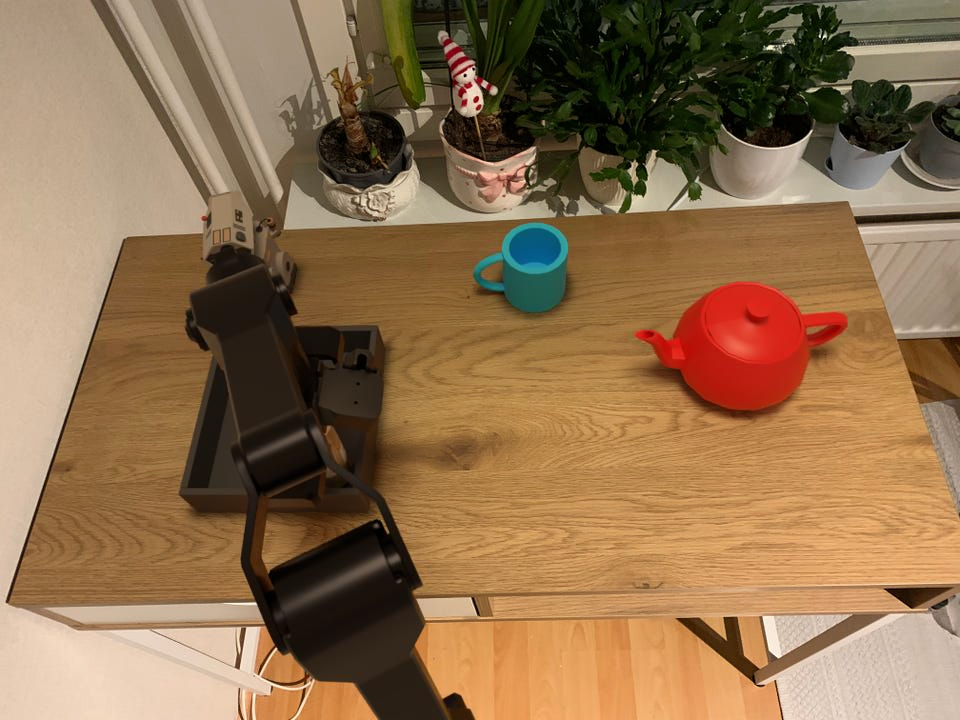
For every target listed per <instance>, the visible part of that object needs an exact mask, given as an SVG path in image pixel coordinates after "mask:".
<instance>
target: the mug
mask: <svg viewBox="0 0 960 720" xmlns="http://www.w3.org/2000/svg"><path fill="white" fill-rule="evenodd" d="M568 257H569V243H568V241H567V238H566V236H565V235H564V234H563V233H562V232H561V231H560V229H558V228H556V227H554V226H553V225H550V224H546V223H543V222H528V223H523V224H520V225H518V226H516V227H515V228H513V229H511V230H510V231H509V232H508V233H507V234H506V236H505V237H504V239H503V241H502V245H501V252H496V253H494V254H491V255H489V256H486V257H485V258H483V259H482V260H480V261H479V262H478V263H477V264H476V266H475V267H474V269H473V274H472V276H473V278H474V281H475V283H476V284H477V285H478V286H480V287H481V288H484V289H486V290H489V291H495V292H503V293H504V296H505V298H506V300H507V301H508V302H509V303H510V305H511V306H513V307H515V308H516V309H517V310H519V311H522V312H526V313H542V312H543V313H544V312H547V311H549V310H551V309H553V308H554V307H557V305H558V304H559V303H560V302H561V301H562V299H563V297H564V295H565V292H566V282H567V270H568V259H569V258H568ZM499 262H502V280H503V281H502V282H495V281H490V280H487V279H485V278H483V277H482V272H483V271H484V270H485V269H486V268H488V267H489V266H491V265H494V264H497V263H499Z"/></svg>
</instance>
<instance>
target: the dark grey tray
mask: <svg viewBox="0 0 960 720" xmlns="http://www.w3.org/2000/svg"><path fill="white" fill-rule="evenodd" d="M332 326H333V327H335V328H337V329H338V330H340V331H341V333H342V335H343V338H344V340H345V344H344V351H343V358H342V362H344V360H345V357H346V355H347V354H349V353H350V352H352V351H353V350H355V349H357V348H359V349H365V350H370V351H371V353H372V355H373V356H374V358H375V360H376V362H375V366H376V368H381V370H382V379H383V377H384V367H385V357H386V347H385V343H384V340H383V336H382V334H381V331H380V328H379V325H378V324H369V325H368V324H365V325H361V324H359V325H358V324H357V325H355V324H353V325H332ZM322 361H323V363H324V365H325V366H327V367H328V368H335V365H334V364H333V362H332V360H322ZM378 425H379V420H378V421H377V423H376V426H375V428H374V429H373V430H372V431H370V432H360V431H358V430H351V429H344V428H337V427H334V429H335V431H336V433H337V435H338V437H339V439H340V441H341V443H342V445H343V447H344V449H345V452H346V455H347V457H348V459H349V460H350V461H351V463H352V468H353V470H352V474H353V475H355V476H356V477H358V478H359V479H361V480H362V481H363V482H365V483H366V484H368V485H369V486H370V487H372V484H373V474H374V466H375V465H374V464H375V455H376V446H377V436H378ZM191 437H192V438H191V442H190V446H189V450H188V454H187V458H186V461H185V465H184V469H183V474H182V478H181V483H180V486H179V491H178V496H179V497H181V499H182V500H184V501H185V502H186V503H187V504H188V505H190V507H192V508H193V509H194V510H195V511H196V512H197V513H247V509H248V502H249V497H248V495H247V492H246V490H245V487H244V485H243V483H242V480H241V478H240V476H239V473H238V471H237V468H236V466H235V463H234V460H233V458H232V454H231V450H230V443H232V442H234V441H237V440H238V434H237V430H236V425H235V420H234V416H233V411H232V406H231V401H230V397H229V392H228V387H227V382H226V378H225V373H224V370H221V368H220V366H219V364H218V363H217V361H216V359H215V357H214V356H213V355H212V357H211V361H210V364H209V369H208V373H207V377H206V381H205V385H204V389H203V392H202V397H201V401H200V405H199V409H198V414H197V418H196V421H195V425H194V429H193V433H192V436H191ZM370 503H371V498H370V497H368V496H367V495H366V494H364V493H363V492H361V491H360V490H359V489H357V488H356V487H354V486H353V485H352V484H350V483H349V482H347V483H346V484H345V485H344V486H342V487H341V488H324V495H323V502H321V503H320V504H319V505H318V506H317V507H268V513H369V512H370Z"/></svg>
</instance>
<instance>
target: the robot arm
mask: <svg viewBox="0 0 960 720" xmlns="http://www.w3.org/2000/svg"><path fill="white" fill-rule="evenodd" d="M213 257H214V259H215V263H214V264H213V265H212V266H211V267H210V266H209V269H208V271H207V272H206V275H205V278H204V279H205V285H204V286H202V287H199V288H196V289H194V290H191V291H190V292H189V293H188V301H189V306H190V307H189V308H186V309H185V310H184V312H185V317H186V318H185V319H184V320H185V325H184V331H185V333H186V335H187V337H188V339H189V340H190V341H191V342H193V343H196V344H197V345H198V347H199V349H200V350H203V351H204V352H209V351H210V352H211V354H212V356H214V357H215V359H216V361H217V363H218V364H219V366H220V368H221V370H224V373H225V378H226V382H227V387H228V392H229V397H230V401H231V406H232V411H233V416H234V420H235V425H236V430H237V434H238V440H237V441H234V442H232V443H230V450H231V454H232V458H233V460H234V463H235V466H236V468H237V471H238V473H239V476H240V478H241V480H242V483H243V485H244V487H245V490H246V492H247V495H248V497H249V502H248V509H247V512H246V517H245V524H244V529H243V530H244V531H243V536H242V537H243V538H242V545H241V551H240V558H239V559H240V568H241V569H242V572H243V574H244V577H245V579H246V582H247V584H248V586H249V588H250V592H251V593H252V596H253V599H254V601H255V604H256V607H257V608H258V611H259V613H260V616H261V618H262V621H263V623H264V625H265V628H266V630H267V632H268V634H269V637H270V639H271V642H272V643H273V645H274V646H275V648H276V650H277V651H278V653H280V654H281V656H288V655H290V654H291V656H292V657H293V660H294V661H295V662H296V663H297V664H298V665H299V666H300V667H301V668H302V669H303V670H304V671H305V673H307V674H308V676H309V677H311V679H313V680H314V681H316V682H320V683H321V682H322V683H343V684H344V683H346V684H348V683H349V684H353V685H354V686H355V688H356V689H357V691H358V692H359V694H360V695H361V697H362V698H363V700H364V701H365V703H366V704H367V706H368V707H369V709H370V710H371V711H372V713H373V715H374V716H375V718H376V720H477V719H476V717H475V715H474V713H473V711H472V709H471V708H469V707H468V706H467V705H466V702H465V699H464V698H463V696H462V695H461V694H459V693H457V692H452V693H451V694H449V695H447V696H445V697H442V695H441V693H440V691H439V689H438V687H437V686H436V683H435V682H434V679H433V678H432V676H431V674H430V672H429V670H428V668H427V666H426V664H425V662H424V660H423V658H422V657H421V654H420V653H419V651H418V649H417V647H416V644H417V642H418V640H419V638H420V636H421V635H422V632H423V630H424V628H425V627H426V624H427V621H426V619H425V616H424V614H423V611H422V609H421V606H420V604H419V602H418V599H417V597H416V594H415V593H414V591H417V590H419V589H420V588H422V587H424V584H423V581H422V579H421V576H420V574H419V572H418V569H417V567H416V565H415V563H414V561H413V559H412V556H411V553H410V552H409V550H408V548H407V545H406V543H405V541H404V538H403V536H402V534H401V532H400V529H399V526H398V525H397V522H396V520H395V518H394V515H393V514H392V512H391V509H390V507H389V505H388V503H387V500H386V498H385V497H384V496H383V495H382V494H381V493H380V492H379V491H378V490H376V489H375V488H374V487H373V486H371V487H370V486H369V485H368V484H366V483H365V482H363V481H362V480H361V479H359V478H358V477H356V476H355V475H353V474H352V473H351V472H349V471H348V470H346V469H345V468H344V467H342V466H341V465H339V464H338V463H337V461H336V459H335V456H334V454H333V452H332V450H331V445H330V444H329V443H328V441H327V438H326V436H325V434H324V433H326V431H327V426H333V427H337V428H344V429H351V430H358V431H360V432H370V431H372V430H373V429H374V428H375V426H376V423H377V421H378V422H379V419H380V416H381V413H382V407H383V397H384V387H385V381H384V379H383V378H382V370H381V368H376V366H375V362H376V360H375V358H374V356H373V355H372V353H371V351H370V350H365V349H359V348H357V349H355V350H353V351H352V352H350V353H349V354H347V355H346V357H345V360H344V362H342V358H343V351H344V344H345V340H344V338H343V335H342V333H341V331H340V330H338V329H337V328H335V327H333V326H334V325H330V324H329V325H323V324H322V325H321V324H320V325H319V324H318V325H294V322H293V320H292V317H293V316H296V315H298V314H299V311H298V310H297V307H296V305H295V302H294V300H293V297H292V294H291V292H289V290H288V288H287V286H286V283H285V281H284V279H283V277H282V275H281V274H280V272H279V273H276V274H274V275H271V273H270V271H269V269H268V266H267V264H266V262H265V260H263V259H261V258H260V257H258V256H256V255H253V254H248V253H237V252H236V250H235V248H234V247H230V248H227V249H225V250H222V251H220V252H217V253H214V254H213ZM322 360H332V362H333V364H334V365H335V368H328V367H327V366H325V365H324V363H323V361H322ZM327 468H329V469H330V470H332V471H333V472H335V473H336V474H337V475H339V476H340V477H342V478H343V479H344V480H346V481H347V482H349V483H350V484H352V485H353V486H354V487H356V488H357V489H359V490H360V491H361V492H363V493H364V494H366V495H367V496H368V497H370V500H373V501H374V503H375V504H376V506H377V509H378V510H379V513H380V515H381V517H382V520H383V521H382V520H381V519H378V518H375V519H373V520H369V521H367V522H365V523H363V524H360V525H359V526H356V527H355V528H352V529H351V530H348V531H346V532H344V533H342V534H340V535H338V536H336V537H333V538H331V539H329V540H327V541H325V542H323V543H321V544H319V545H317V546H315V547H312V548H310V549H309V550H307V551H304V552H303V553H300V554H298V555H297V556H294V557H292V558H290V559H288V560H286V561H284V562H281V563H279V564H277V565H275V566H274V567H272V568H271V569H269V571H268V569H267V566H266V564H265V562H264V560H263V556H262V555H263V549H264V543H265V535H266V527H267V519H268V513H269V512H268V507H317V506H318V505H319V504H320V503H321V502H323V495H324V488H325V481H326V470H327ZM383 522H384V523H383ZM384 525H385V526H384ZM387 531H388V532H387Z"/></svg>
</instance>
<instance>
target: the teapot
mask: <svg viewBox="0 0 960 720" xmlns="http://www.w3.org/2000/svg"><path fill="white" fill-rule="evenodd" d="M848 325H849V321H848V316H846V314H845V313H843V312H838V311H827V312H826V311H825V312H815V313H806V314H802V311H801V309H800V308H799V306H797V304H796V303H795V301H793V299H791V298H790V297H789V296H788V295H786V294H785V293H784V292H782V291H781V290H779V289H778V288H777V287H774V286H771V285H767V284H765V283H761V282H758V281H734V282H731V283H727V284H724V285H721V286H719V287H716V288H714V289H712V290H710V291H709V292H707V293H705V294H703V295H702V296H701V297H700V298H699V299H698V300H696V301H694V303H692V304H691V306H689V307H688V308H687V309H686V310H684V312H683V313H682V314H681V317H680V318H679V320H678V323H677V325H676V327H675V329H674V332H673V335H672V339H665V338H664V336H663V335H662V334H661V333H660V332H658V331H657V330H655V329H641V330H638V331H636V332H635V333H634V335H633V336H634V338H636V339H638V340H641V341H643V342H645V343H647V344H648V345H650V346H652V350H653V352H654V353H655V355H656V357H657V358H658V360H659V361H660V362H661V365H663V367H664V368H668V369H674V370H680V373H681V375H682V377H683V380H684V381H685V384H687V386H689V387H690V388H691V389H692V390H693V391H694V392H695V393H696V394H698V395H699V396H700V397H701V398H702V399H703V400H704V401H706V402H710V403H712V404H715V405H717V406H720V407H723V408H724V409H727V410H738V411H739V410H741V411H758V410H762V409H765V408H768V407H771V406H774V405H776V404H780V403H782V402H783V401H784V400H786V399H787V398H789V396H791V394H792V393H794V391H796V390H797V389H798V388H799V387H800V386H801V385H802V383H803V379H804V377H805V374H806V371H807V368H808V365H809V362H810V359H811V349H810V348H814V347H819V346H822V345H824V344H825V343H827V342H830V341H831V340H834V339H835V338H836V337H838V336H839V335H841V334H842V333H844V331H845V330H846V329H847V328H849V326H848ZM824 326H825V327H824ZM816 327H824V328H822V329H819V330H818V331H815V332H813V333H809V334H808V331H807V329H808V328H816Z"/></svg>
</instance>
